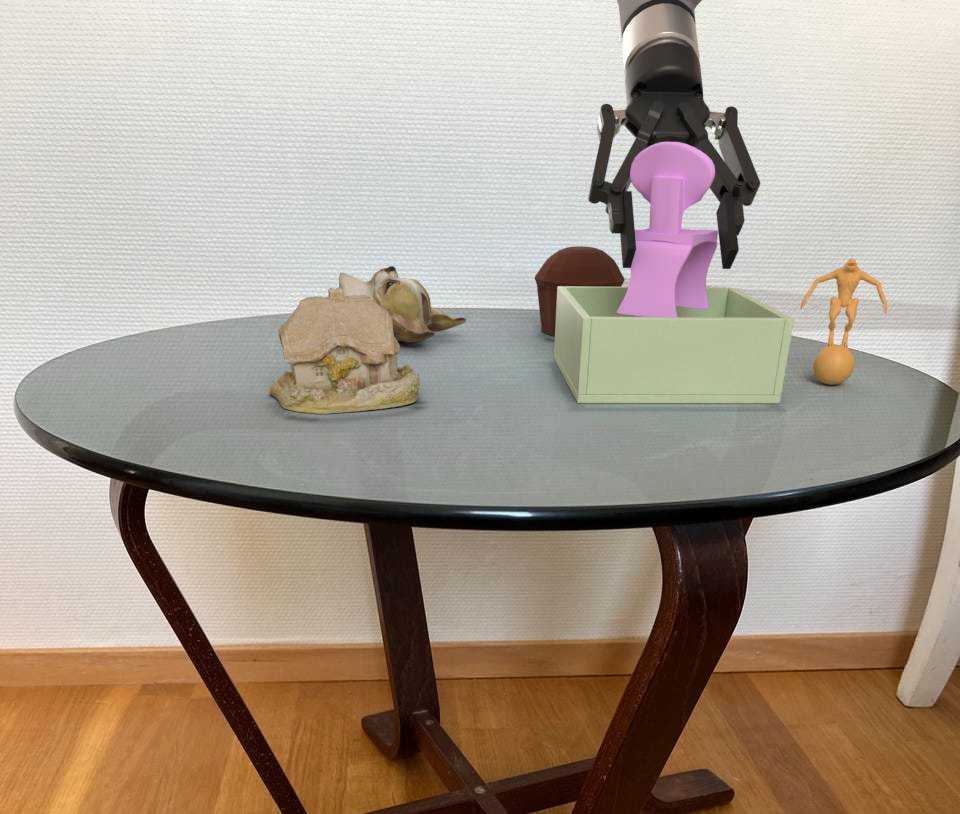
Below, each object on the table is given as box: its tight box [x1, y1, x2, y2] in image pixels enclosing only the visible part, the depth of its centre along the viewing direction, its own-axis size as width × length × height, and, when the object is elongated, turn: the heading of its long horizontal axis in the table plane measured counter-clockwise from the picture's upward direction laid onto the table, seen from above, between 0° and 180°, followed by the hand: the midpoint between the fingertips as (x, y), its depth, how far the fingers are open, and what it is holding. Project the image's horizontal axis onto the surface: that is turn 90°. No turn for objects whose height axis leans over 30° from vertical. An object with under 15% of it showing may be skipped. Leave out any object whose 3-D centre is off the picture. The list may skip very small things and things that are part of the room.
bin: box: [553, 286, 795, 405], centre depth 96 cm, size 20×20×8 cm
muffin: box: [534, 245, 625, 337], centre depth 118 cm, size 12×11×10 cm
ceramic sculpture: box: [338, 265, 467, 343], centre depth 112 cm, size 11×9×15 cm
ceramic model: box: [268, 286, 421, 415], centre depth 87 cm, size 14×11×10 cm
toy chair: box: [617, 142, 719, 317], centre depth 90 cm, size 8×9×15 cm
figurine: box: [800, 257, 888, 386], centre depth 95 cm, size 8×6×12 cm
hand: (680, 259), depth 89 cm, fingers closed on toy chair, 9 cm apart
